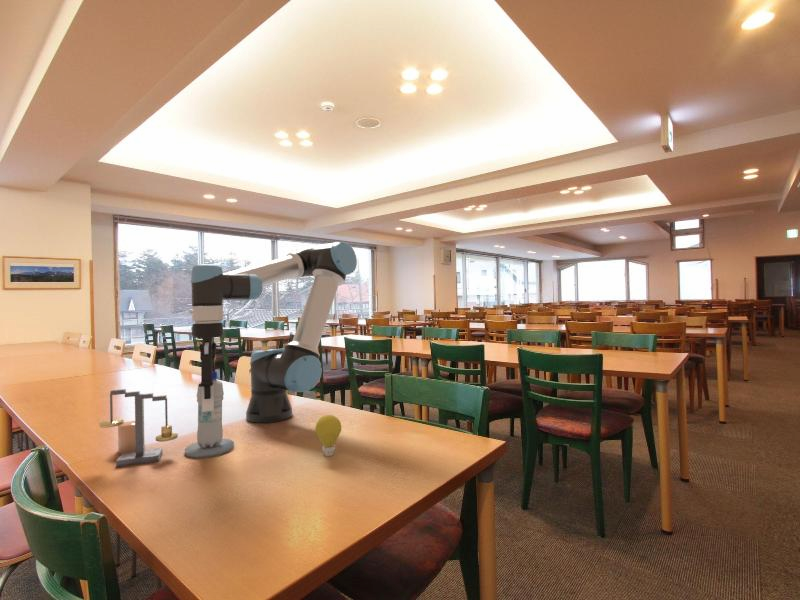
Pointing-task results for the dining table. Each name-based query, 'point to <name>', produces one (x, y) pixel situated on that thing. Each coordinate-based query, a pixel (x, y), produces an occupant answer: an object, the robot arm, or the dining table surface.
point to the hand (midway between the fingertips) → (209, 406)
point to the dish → (209, 449)
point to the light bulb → (328, 432)
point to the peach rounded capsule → (126, 437)
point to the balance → (140, 430)
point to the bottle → (210, 417)
